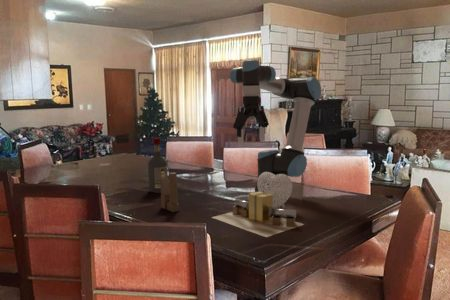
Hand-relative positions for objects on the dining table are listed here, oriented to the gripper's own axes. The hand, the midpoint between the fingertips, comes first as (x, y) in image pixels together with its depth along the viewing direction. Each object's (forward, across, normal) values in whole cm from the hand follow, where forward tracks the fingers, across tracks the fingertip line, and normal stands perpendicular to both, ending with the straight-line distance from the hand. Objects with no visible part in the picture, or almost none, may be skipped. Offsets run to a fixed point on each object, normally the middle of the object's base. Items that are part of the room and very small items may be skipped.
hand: (251, 142), depth 181 cm
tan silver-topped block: (+30, +10, +5) cm, 32 cm away
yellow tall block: (+30, +10, +15) cm, 36 cm away
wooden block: (+31, +28, -27) cm, 50 cm away
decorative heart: (+32, -8, +7) cm, 33 cm away
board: (+31, +13, +15) cm, 37 cm away
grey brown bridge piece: (+30, +8, +26) cm, 40 cm away
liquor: (+31, +12, -63) cm, 71 cm away
